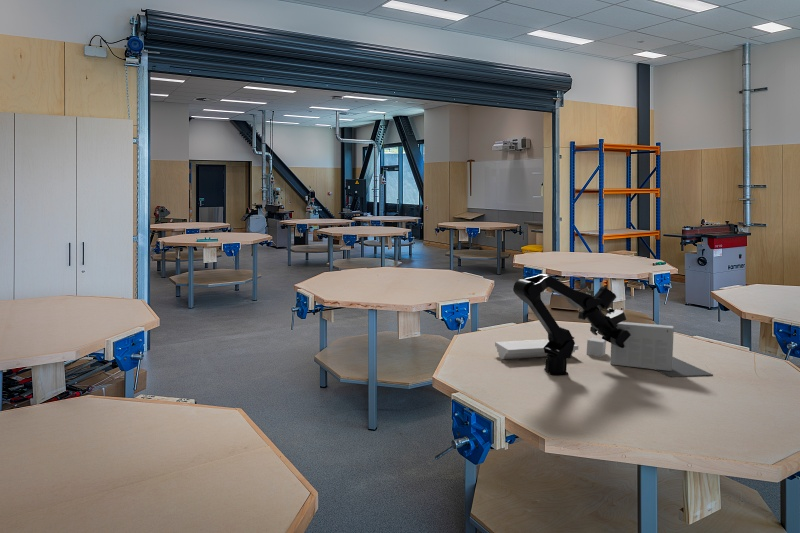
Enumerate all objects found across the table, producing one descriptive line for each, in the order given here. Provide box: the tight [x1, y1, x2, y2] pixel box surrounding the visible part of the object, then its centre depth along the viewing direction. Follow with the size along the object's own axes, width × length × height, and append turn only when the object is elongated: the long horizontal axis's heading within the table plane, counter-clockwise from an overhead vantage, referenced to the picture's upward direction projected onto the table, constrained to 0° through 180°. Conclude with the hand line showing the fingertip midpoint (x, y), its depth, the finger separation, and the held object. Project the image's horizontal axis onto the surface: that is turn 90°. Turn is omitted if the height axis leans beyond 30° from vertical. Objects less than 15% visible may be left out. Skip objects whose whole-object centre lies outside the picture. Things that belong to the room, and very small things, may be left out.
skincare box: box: [610, 321, 675, 371], centre depth 210 cm, size 21×6×16 cm, turn 65°
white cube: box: [586, 336, 607, 358], centre depth 227 cm, size 6×6×6 cm
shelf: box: [494, 338, 579, 360], centre depth 221 cm, size 12×30×5 cm, turn 106°
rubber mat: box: [654, 356, 714, 378], centre depth 213 cm, size 17×25×1 cm
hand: (623, 347), depth 209 cm, fingers closed
